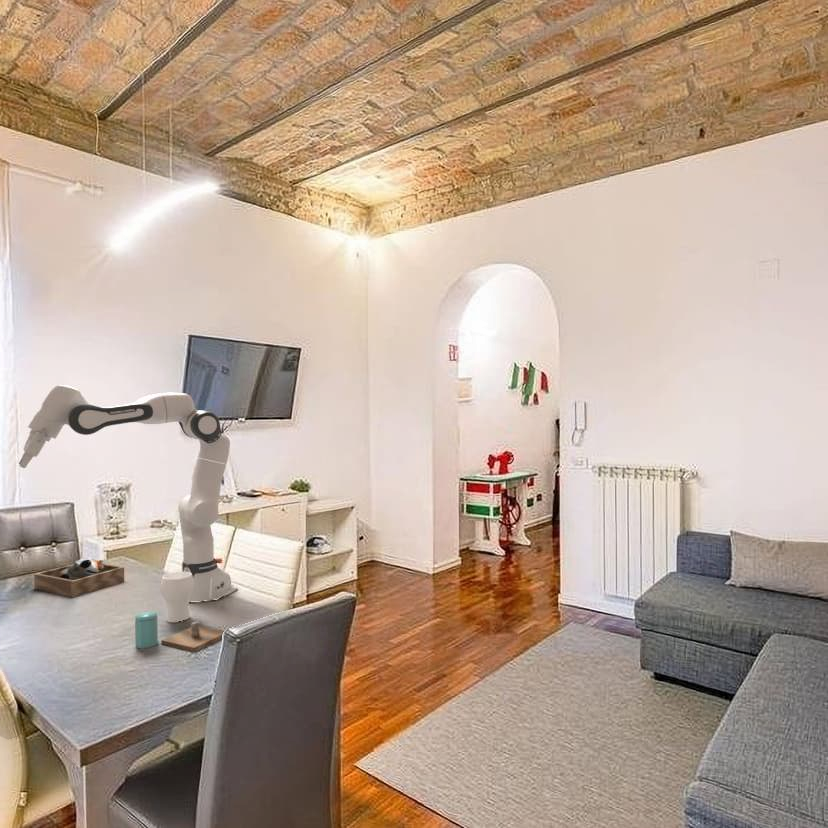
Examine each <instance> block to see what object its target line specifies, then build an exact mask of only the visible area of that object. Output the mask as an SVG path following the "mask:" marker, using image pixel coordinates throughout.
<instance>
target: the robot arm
mask: <svg viewBox="0 0 828 828" xmlns="http://www.w3.org/2000/svg"><path fill="white" fill-rule="evenodd" d="M174 422H176V423H177V422H178V423H179V425H180V428H181V430H182V431H183V433H184V434H185V435H186V436H187V437H188V438H192V439H194V440H198V442H199V444H200V450H199V452H198V455H197V458H196V462H195V466H194V469H193V472H192V475H191V488H190V494H188V495H186V496H183V497H182V498H181V500H180V501H179V503H178V505H177V506H178V507H177V508H178V513H179V516H178V517H179V523H180V530H181V536H182V537H181V538H182V555H183V556H182V557H183V560H182V562H181V563H182V564H181V570H182V571H181V572H190V573H192V576H193V580H194V588H193V592H192V595H191V597H190V599H189V602H191V601H204V600H214V599H218V598H220V597H222V596H224V595H226V596H228V595H230V594H231V593H233V592H235V591H237V590H238V588H239V587H238V586H237V585H235V584H233V583H232V579H231V578H232V577H231V575H230V574H229V573H228V572H226V571H225V570H224V569H222V568H220V567H219V566H218V564H220V565H221V564H222V562H223V558H222V557H221V558H219V557H216V558H215V554H214V553H215V550H214V549H215V545H214V541H215V539H214V537H213V532H212V528H211V526H212V525H213V524H214V523H216V521H217V519H219V504H220V497H221V487H222V482H223V478H224V475H225V470H226V468H227V464H228V460H229V455H230V447H231V446H230V445H231V440H230V439H229V438H228V436H227V435H225V434H224V433H222V429H221V423H220V419H219V417H218V416H217V414H215V413H213V412H212V411H210V410H202V409H200V410H198V409H197V408H196V407H195V402H194V400H193V398H192V396H191V395H189V394H187V393H185V392H164V393H155V394H152V395H148V396H144V397H142V398H141V397H140V398H139V399H138V400H136V401H135V402H132V403H128V404H123V405H115V406H109V407H105V406H104V407H101V406H97V405H93V404H90V403H89V402H88V401H87V400H86V398H85V397H84V395H83V394H82V392H81V390H79V389H77V388H75V387H72V386H69V385H64V384H60V385H56V386H54V387H53V388H52V389H51V390H50V392H49V393H48V394H47V396H46V397H45V398H44V401H43V402H42V404H41V407H40V409H39V410H38V411H37V412H36V413H35V414H34V416H33V418H32V420H31V421H30V422H29V424H28V426H27V428H29V429H30V431H29V432H28V434H29V435H28V437H27V438H26V439H27V440H26V441H25V444H24V447H23V451H24V453H23V455H22V457H21V458H20V460H19V462H18V464H19V467H20V468H22V469H25V468H27V466H28V465H29V463H30V462H31V460H32V459H33V457H35V458H36V457H38V455H40V453H41V452H42V451H41V450H42V449H43V448H44V446H45V444H46V443H47V442H50V440H51V439H55V440H56V439H57V437H58V435H59V434H60V432H61V430H62V429H63V426H65V425H67V426H69V427H70V429H71V430H73V431H74V432H75V433H77V434H79V435H82V436H83V435H85V436H88V435H92V434H93V435H94V434H95V433H97V432H100V431H101V430H103V429H104V428H107V427H111V426H115V425H122V424H128V423H139V424H145V425H159V424H167V423H174ZM224 597H225V596H224Z"/></svg>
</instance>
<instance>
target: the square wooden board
mask: <svg viewBox="0 0 828 828" xmlns="http://www.w3.org/2000/svg"><path fill="white" fill-rule="evenodd" d="M224 631H225V630H222V629H220V628H219V629H217V628H215V627H214V628H213V627H208V626H203V625H200V622H199V621H194V622H191V624H190V627H189V628H186V629H184V630H181V631H179V632H177V633H174V634H171V635H170V636H168V637H166V638H162V639H160V642H161V645H163V646H167V647H168V646H169V647H173V648H176V649H182V650H184V651H190V652H193V653H195V652H197V651H199V650H201V649H203V648H206V647H208V646H209V645H211V644H214V643H216V642H218V641H220V640H222V639H223V638H222V634H223V632H224ZM221 638H222V639H221ZM219 639H220V640H219Z"/></svg>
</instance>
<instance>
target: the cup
mask: <svg viewBox="0 0 828 828" xmlns="http://www.w3.org/2000/svg"><path fill="white" fill-rule="evenodd" d="M193 588H194V580H193V576H192V573H190V572H182V571H174V572H169V573H166V574H164V575H162V578H161V582H160V593H161V595H162V598H163V599H164V602H165V604H166V608H167V611H166V616H165V617H166V618H165V621H166V622H168V623H180V622H179V621H181V622H184V621H183V620H185V621H187V620H189V619H190V618H191V615H190V608H189V604H190V603H189V599H190V597H191V595H192V592H193ZM189 617H190V618H189ZM188 618H189V619H188ZM186 619H187V620H186Z"/></svg>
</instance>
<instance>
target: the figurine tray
mask: <svg viewBox="0 0 828 828" xmlns="http://www.w3.org/2000/svg"><path fill="white" fill-rule="evenodd" d="M103 564H104V566H103V569H102V570H101V571H100V572H99V573H98V574H95V575H91V576H88V577H84V578H81V579H77V580H69V579H64V578H59V577H57V576H58V574H59V573H60V572H61V571H63V570H65V569H68V568H70V566H72V565H74V563H73V564H68V565H64V566H61V567H60V566H59V567H57V568H53V569H50V570H45V571H40V572H37V573H34V574H33V576H34V577H33V578H34V580H33V581H34V588H33V589H35V590H38V589H39V590H38V591H42V590H44V591H43V592H47V591H48V593H52V592H53V594H58V595H62V596H66V595H67V597H71V596H72V597H71V598H75V597H77V596H81V595H84V594H88V593H91V592H95V591H97V590H101V589H103V588H107V587H110V585H111V586H113V584H114V585H117V584H120V583H123V582H122V581H124V582H125V566H119V565H115V564H114V565H113V564H107V563H103ZM119 582H120V583H119ZM116 583H117V584H116ZM100 588H101V589H100Z"/></svg>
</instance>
